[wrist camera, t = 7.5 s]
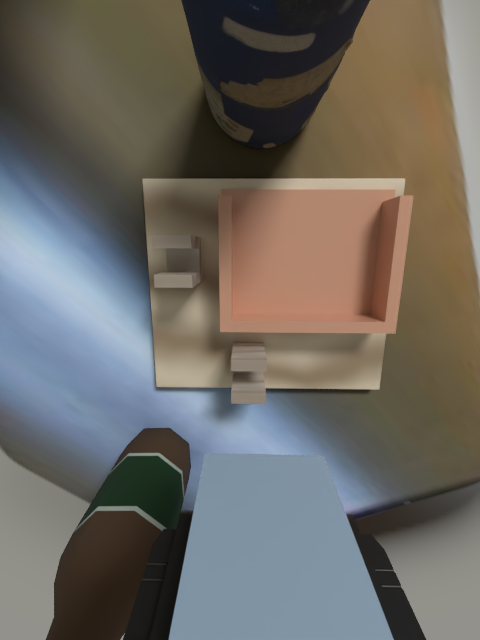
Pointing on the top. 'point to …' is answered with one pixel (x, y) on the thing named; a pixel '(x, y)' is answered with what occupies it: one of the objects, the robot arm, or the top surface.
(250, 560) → the grey block
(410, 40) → the top surface
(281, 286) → the tray
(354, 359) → the board
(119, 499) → the beer bottle
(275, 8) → the canister
